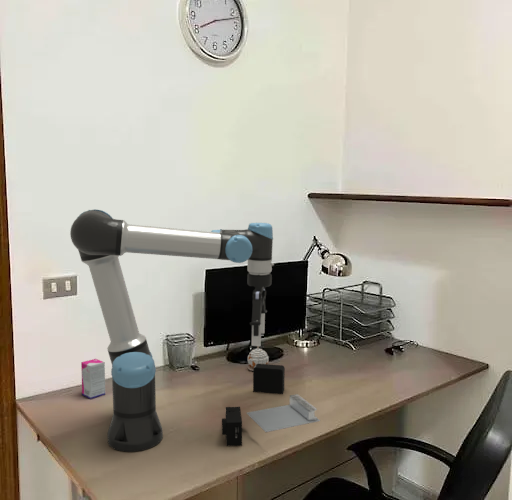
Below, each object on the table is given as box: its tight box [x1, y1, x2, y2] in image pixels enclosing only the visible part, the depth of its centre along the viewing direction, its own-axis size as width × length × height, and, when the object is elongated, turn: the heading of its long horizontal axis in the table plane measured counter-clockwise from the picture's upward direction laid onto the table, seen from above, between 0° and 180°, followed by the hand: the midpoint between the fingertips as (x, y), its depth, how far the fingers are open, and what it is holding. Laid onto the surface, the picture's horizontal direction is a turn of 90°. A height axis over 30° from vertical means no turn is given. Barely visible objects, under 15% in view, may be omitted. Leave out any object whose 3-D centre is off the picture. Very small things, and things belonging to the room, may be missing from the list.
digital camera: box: [221, 406, 243, 447], centre depth 157 cm, size 10×5×7 cm, turn 5°
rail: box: [289, 393, 318, 421], centre depth 170 cm, size 3×12×4 cm, turn 25°
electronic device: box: [252, 363, 286, 395], centre depth 187 cm, size 4×10×10 cm, turn 78°
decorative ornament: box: [246, 346, 270, 372], centre depth 211 cm, size 8×8×15 cm
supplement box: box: [80, 358, 106, 400], centre depth 186 cm, size 6×6×12 cm
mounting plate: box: [246, 404, 321, 433], centre depth 167 cm, size 18×14×2 cm
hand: (258, 339), depth 174 cm, fingers open, 13 cm apart
